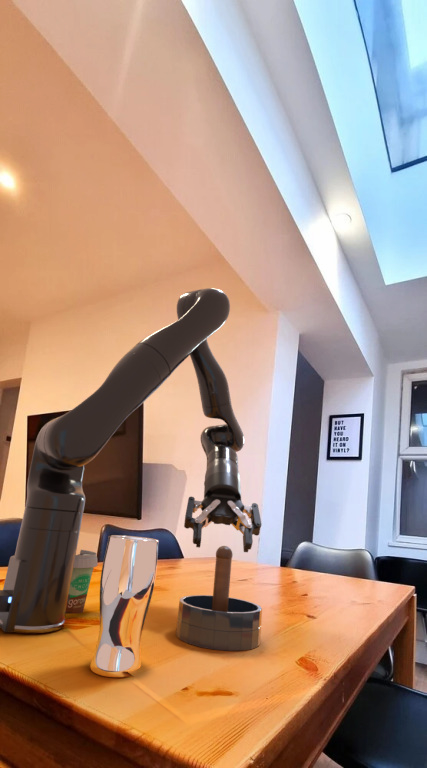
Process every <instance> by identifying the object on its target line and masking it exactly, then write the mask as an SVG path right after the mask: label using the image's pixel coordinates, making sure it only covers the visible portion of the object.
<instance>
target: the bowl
mask: <svg viewBox="0 0 427 768" xmlns="http://www.w3.org/2000/svg"><path fill="white" fill-rule="evenodd" d="M212 599H213V594H192V595H184V596H182V597H179V603H178V612H177V620H176V631H175V636H176V637H177V638H178V640H180V641H182V642H183V643H185V644H189V645H191V646H195V647H197V648H203V649H208V650H215V651H224V652H225V651H228V652H242V651H248V650H253V649H256V648H258V647H259V646H260V644H261V637H262V636H261V634H262V619H263V618H262V615H263V608H262V607H261V605H259V604H257V603H255V602H252V601H249V600H245V599H241V598H235V597H230V596H229V601H228V612H224V611H214V610H212Z"/></svg>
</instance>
